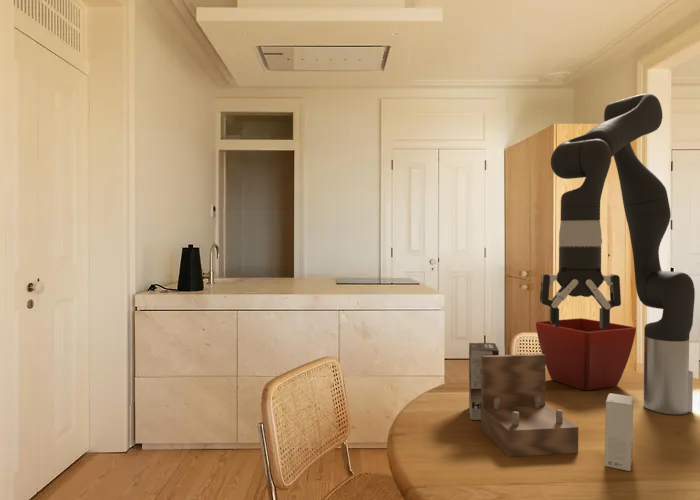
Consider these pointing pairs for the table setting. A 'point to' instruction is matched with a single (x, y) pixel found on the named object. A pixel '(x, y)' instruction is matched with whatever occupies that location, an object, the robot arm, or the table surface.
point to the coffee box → (477, 375)
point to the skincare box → (619, 431)
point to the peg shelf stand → (522, 408)
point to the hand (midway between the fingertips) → (579, 327)
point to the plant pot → (585, 352)
